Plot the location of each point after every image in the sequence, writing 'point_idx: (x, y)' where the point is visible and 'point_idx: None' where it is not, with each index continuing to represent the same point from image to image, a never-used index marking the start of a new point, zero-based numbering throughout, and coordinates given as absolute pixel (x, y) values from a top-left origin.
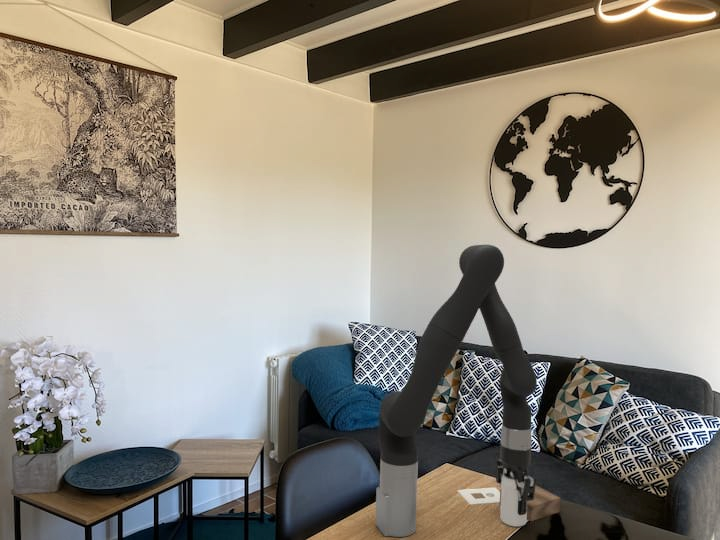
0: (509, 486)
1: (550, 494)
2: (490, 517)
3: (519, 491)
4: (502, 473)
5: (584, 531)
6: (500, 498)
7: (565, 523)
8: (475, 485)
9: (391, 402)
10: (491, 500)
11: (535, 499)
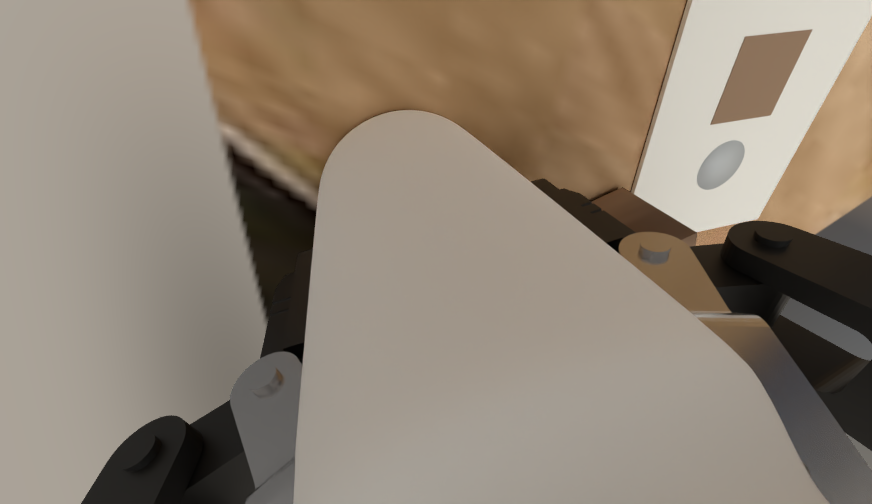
0: (358, 429)
1: None
2: (482, 43)
3: (256, 486)
4: (853, 379)
5: None
6: (640, 203)
7: None
8: (845, 120)
9: None
10: (669, 149)
11: None
